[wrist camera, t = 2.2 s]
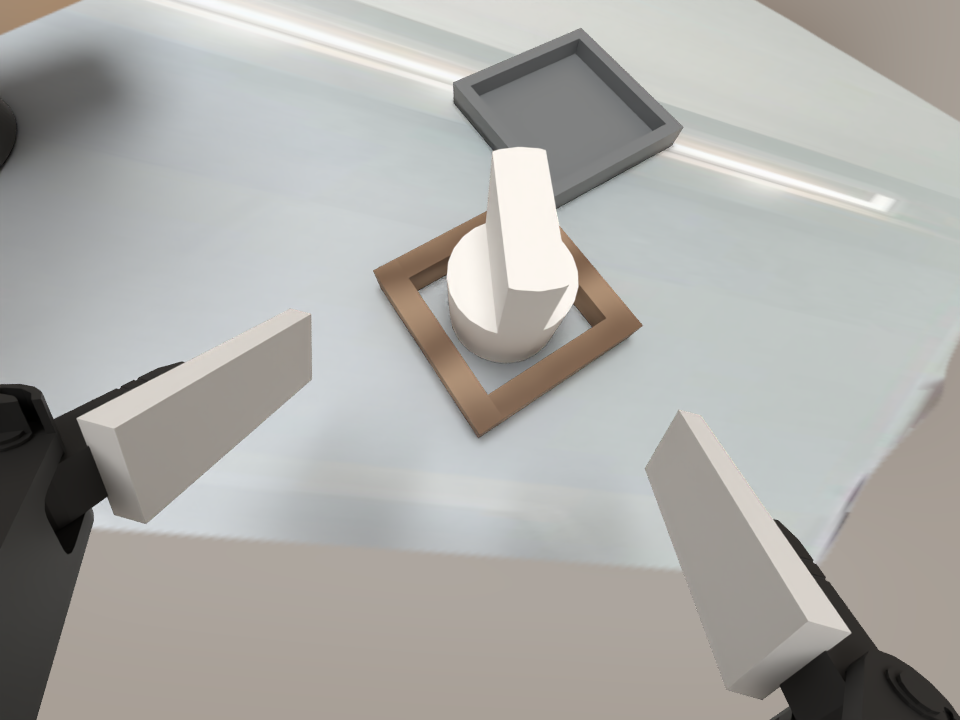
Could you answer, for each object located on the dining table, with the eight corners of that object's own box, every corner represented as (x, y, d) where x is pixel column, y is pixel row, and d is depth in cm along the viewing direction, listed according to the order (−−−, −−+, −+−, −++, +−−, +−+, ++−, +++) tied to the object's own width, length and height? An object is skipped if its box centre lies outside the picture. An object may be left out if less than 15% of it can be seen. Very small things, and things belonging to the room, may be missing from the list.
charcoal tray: (453, 102, 37) (453, 82, 35) (575, 49, 40) (581, 27, 38) (546, 213, 33) (551, 198, 31) (672, 145, 37) (683, 127, 35)
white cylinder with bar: (446, 267, 31) (437, 148, 20) (548, 262, 32) (597, 144, 20) (453, 366, 29) (446, 296, 17) (564, 359, 29) (629, 286, 18)
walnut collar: (380, 286, 30) (372, 270, 28) (524, 209, 33) (528, 189, 31) (478, 438, 27) (479, 434, 25) (628, 337, 30) (642, 325, 28)
